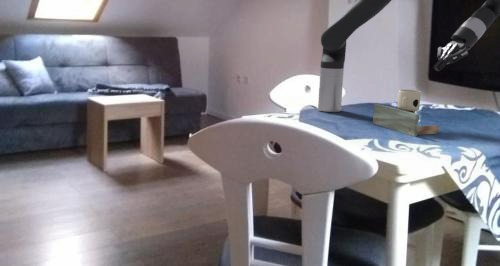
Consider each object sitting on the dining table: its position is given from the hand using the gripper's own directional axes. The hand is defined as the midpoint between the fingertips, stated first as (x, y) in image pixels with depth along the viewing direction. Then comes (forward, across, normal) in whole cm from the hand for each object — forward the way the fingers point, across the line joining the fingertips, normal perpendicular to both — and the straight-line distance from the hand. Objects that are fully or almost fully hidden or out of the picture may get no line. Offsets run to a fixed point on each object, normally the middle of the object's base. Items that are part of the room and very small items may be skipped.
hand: (436, 69), depth 166 cm
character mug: (+23, +2, +6) cm, 23 cm away
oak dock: (+22, +2, +6) cm, 23 cm away
